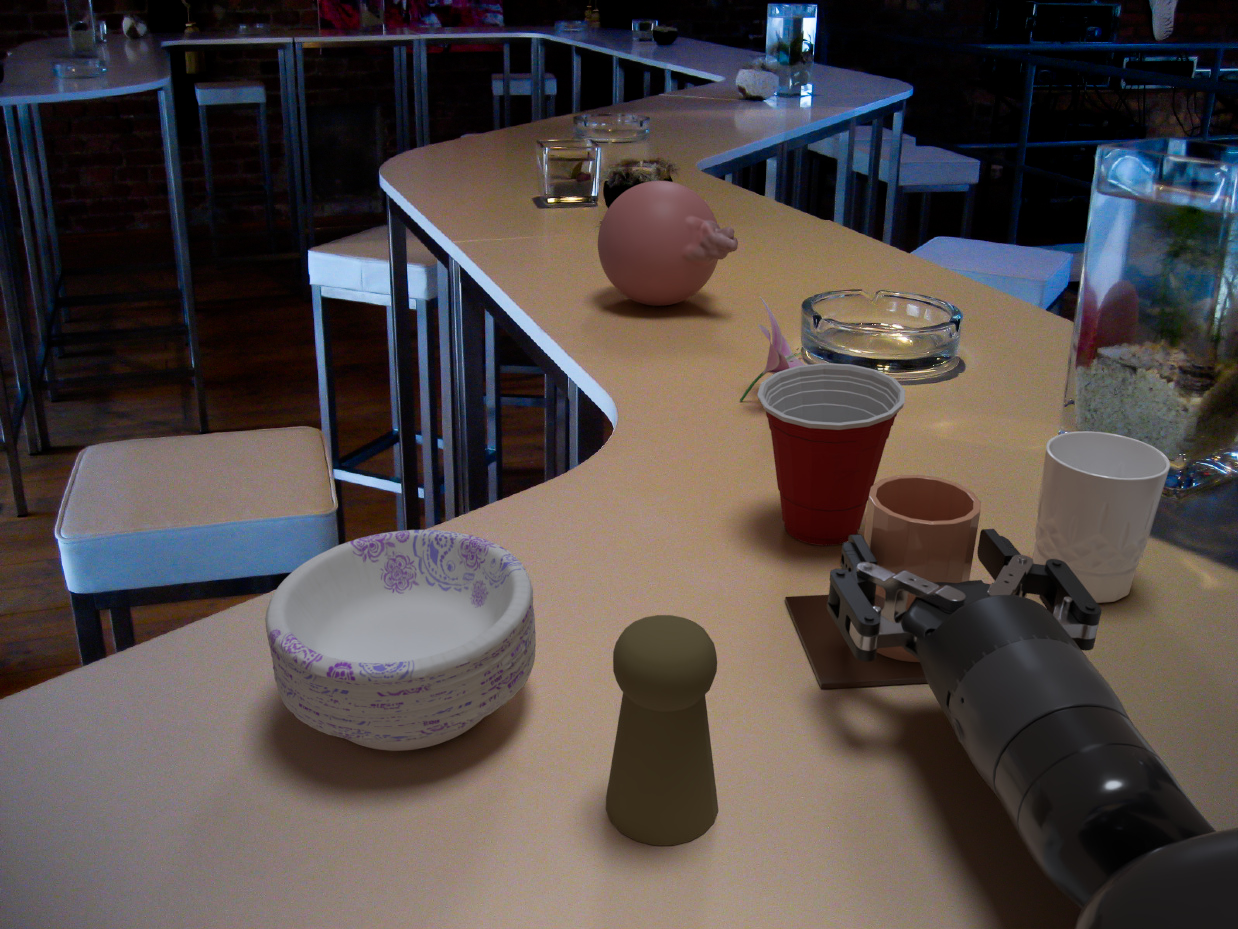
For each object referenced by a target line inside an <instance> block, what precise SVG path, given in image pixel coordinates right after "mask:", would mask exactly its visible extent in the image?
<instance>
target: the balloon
mask: <svg viewBox="0 0 1238 929" xmlns="http://www.w3.org/2000/svg"><path fill="white" fill-rule="evenodd" d="M738 247H739V241H738V238H737V237H735V229H734V228H733V227H732V226H725V227H722V228H721V226H720V225H719V224H718V220H717V218H716V216H715V214H714V212H713V210H712V209H711V207H710V205H709V204H708V203H707V201H705V199H704V198H702V197H701V196H700V195H699V194H698V193H697V192H696V191H694V190H692V189H691V188H689V187H687V186H686V185H683V184H680V183H677V182H674V181H668V180H651V181H645V182H642V183H639V184H636V185H634V186H632V187H630V188H628V189H626V190H625V191H624V192H622V193H621V194H620V195H619V196H618V197H616V199H614V200H613V202H612V203H611V204H610V205H609V207H608V208H607V210H606V212H605V213H604V215H603V218H602V220H601V222H600V226H599V229H598V234H597V252H598V253H597V254H598V257H599V262H600V265H601V267H602V270H603V272H604V274H605V276H606V277H607V279H608V280H609V282H610V283H611V284H612V285H613V287H614V288H615V289H616V290H617V291H618V292H620V294H622V295H623V296H625V297H627V298H628V299H630V300H631V301H634V302H636V303H639V304H642V305H647V306H651V307H664V306H670V305H671V306H672V305H675V304H679V303H681V302H684V301H686V300H688V299H689V298H691V297H692V296H694V295H696V294H697V293H698V292H699V291H701V289H703V287H704V286H706V284H707V283H708V282H709V280H710V279H711V277H712V275H713V274H714V272H715V270H716V266H717V265H718V263H719V260H724V259H726V258H727V257H728V255H729V253H732V252H736V251H737V250H738Z"/></svg>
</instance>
